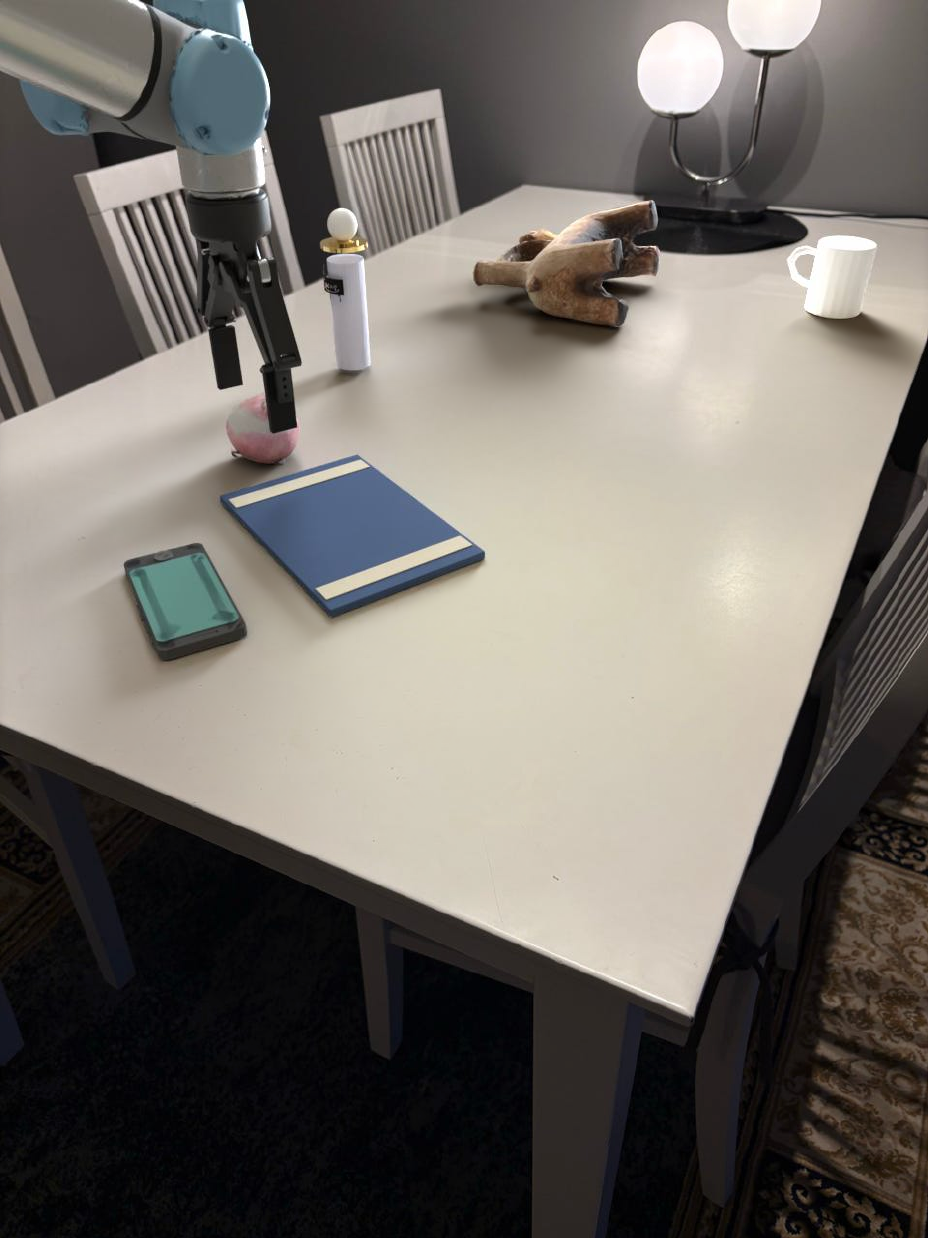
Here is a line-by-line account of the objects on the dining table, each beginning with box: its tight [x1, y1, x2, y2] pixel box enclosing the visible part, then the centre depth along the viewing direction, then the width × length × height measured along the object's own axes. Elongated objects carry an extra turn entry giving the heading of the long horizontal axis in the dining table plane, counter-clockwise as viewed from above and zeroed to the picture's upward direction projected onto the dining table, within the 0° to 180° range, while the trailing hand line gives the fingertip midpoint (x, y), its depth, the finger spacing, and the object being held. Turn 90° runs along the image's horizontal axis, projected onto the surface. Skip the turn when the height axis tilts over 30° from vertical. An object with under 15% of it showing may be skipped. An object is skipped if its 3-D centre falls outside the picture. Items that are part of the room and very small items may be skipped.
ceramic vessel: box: [472, 199, 661, 328], centre depth 142 cm, size 13×31×25 cm
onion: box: [225, 394, 300, 465], centre depth 98 cm, size 8×8×7 cm
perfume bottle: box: [319, 207, 372, 371], centre depth 115 cm, size 6×6×20 cm
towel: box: [219, 454, 486, 618], centre depth 88 cm, size 24×16×1 cm, turn 35°
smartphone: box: [122, 542, 248, 661], centre depth 78 cm, size 7×1×15 cm
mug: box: [786, 235, 878, 320], centre depth 136 cm, size 8×12×10 cm
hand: (255, 407), depth 97 cm, fingers open, 13 cm apart
